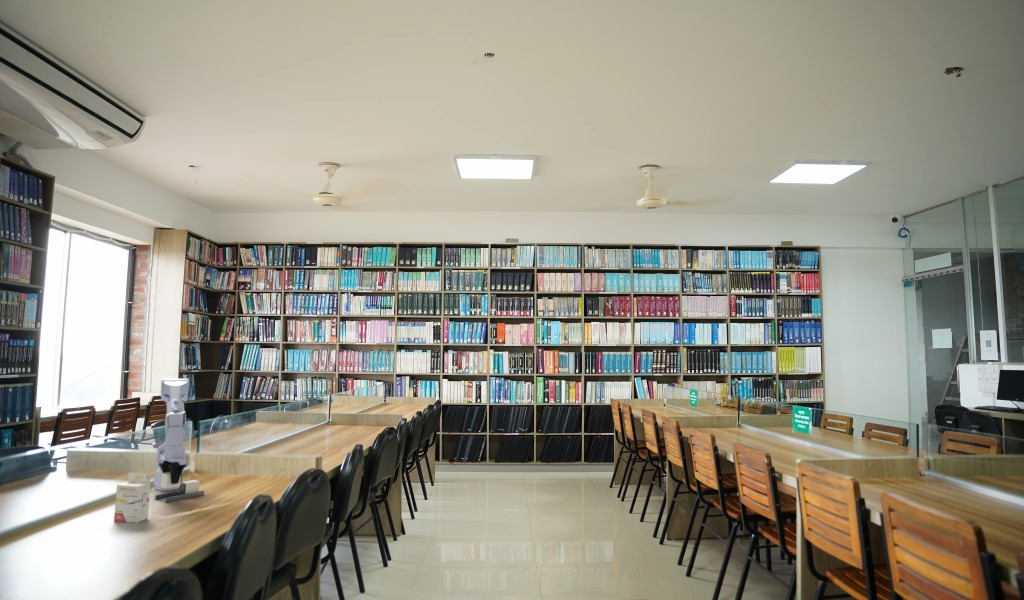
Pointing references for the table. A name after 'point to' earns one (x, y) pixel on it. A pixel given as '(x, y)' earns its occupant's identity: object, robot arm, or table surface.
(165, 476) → the white cardboard box
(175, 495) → the sliding window
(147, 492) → the ink cartridge box
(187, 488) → the white and grey block
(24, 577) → the table surface
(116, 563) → the table surface
